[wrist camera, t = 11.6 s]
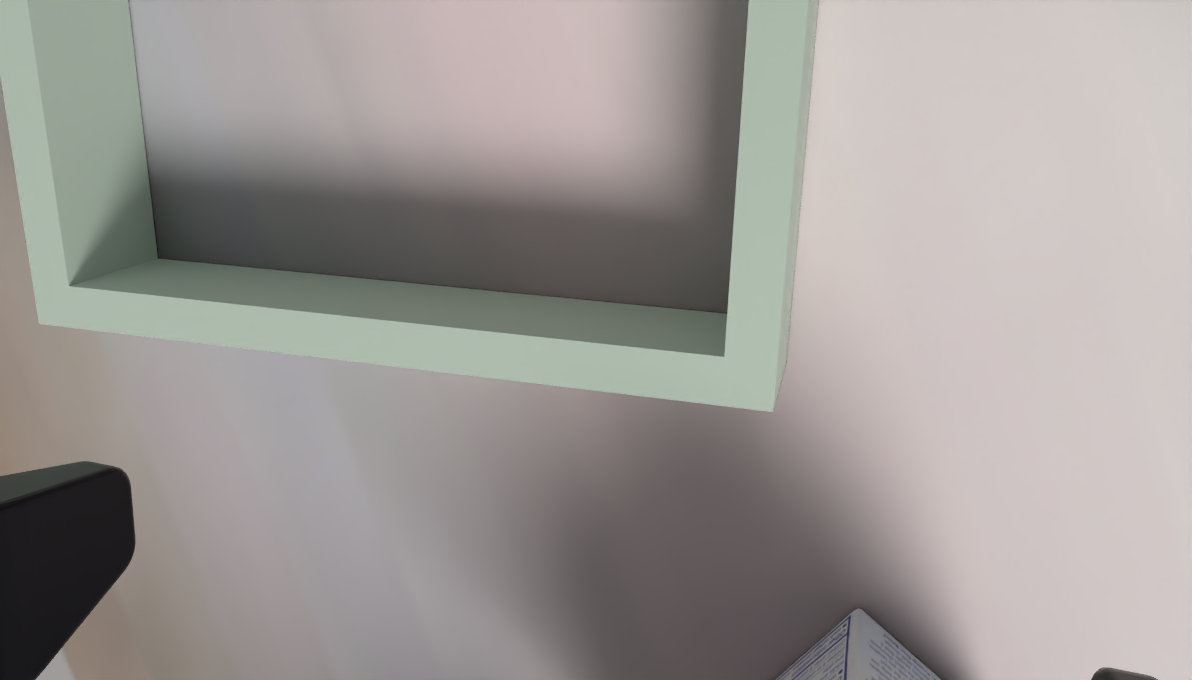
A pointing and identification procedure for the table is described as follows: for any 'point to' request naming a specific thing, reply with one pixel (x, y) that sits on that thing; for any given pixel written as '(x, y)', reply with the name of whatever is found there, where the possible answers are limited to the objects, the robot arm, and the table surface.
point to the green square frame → (377, 307)
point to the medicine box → (858, 655)
